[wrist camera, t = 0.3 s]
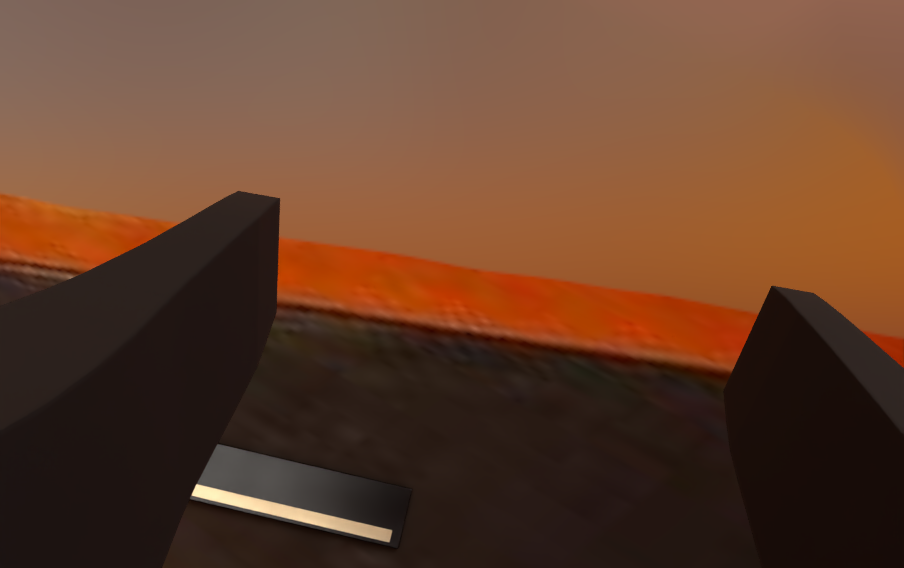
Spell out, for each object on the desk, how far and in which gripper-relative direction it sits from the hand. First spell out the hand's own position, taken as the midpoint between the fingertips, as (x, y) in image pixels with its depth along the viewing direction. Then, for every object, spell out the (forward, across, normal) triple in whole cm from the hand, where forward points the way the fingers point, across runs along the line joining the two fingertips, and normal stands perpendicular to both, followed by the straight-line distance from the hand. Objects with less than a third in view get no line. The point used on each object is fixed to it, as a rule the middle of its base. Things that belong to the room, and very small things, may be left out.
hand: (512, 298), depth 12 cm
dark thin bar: (+18, +16, +26) cm, 36 cm away
